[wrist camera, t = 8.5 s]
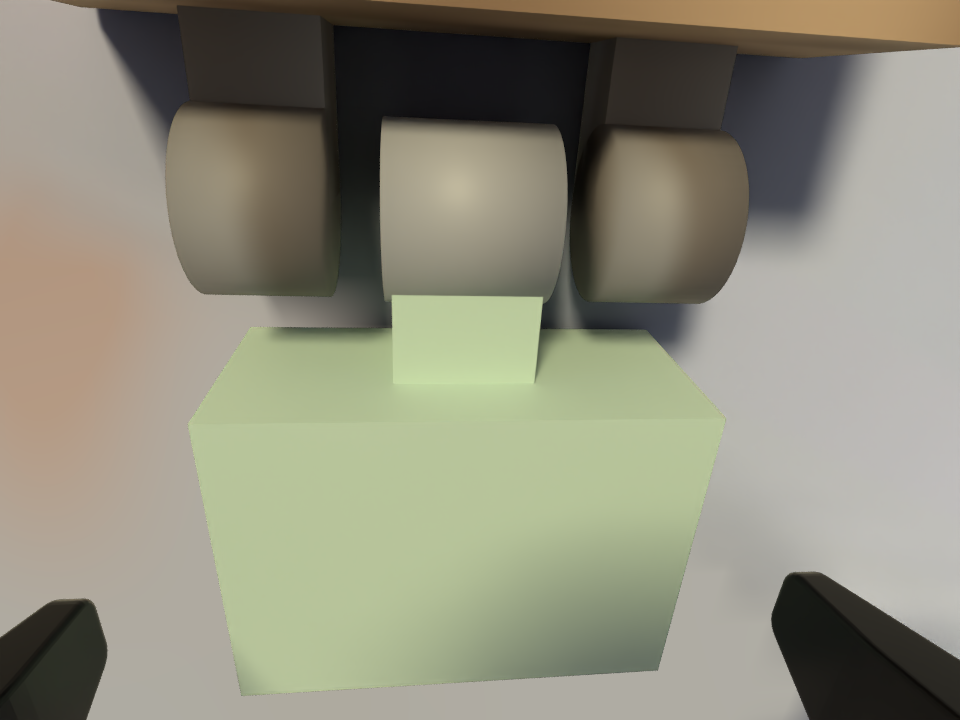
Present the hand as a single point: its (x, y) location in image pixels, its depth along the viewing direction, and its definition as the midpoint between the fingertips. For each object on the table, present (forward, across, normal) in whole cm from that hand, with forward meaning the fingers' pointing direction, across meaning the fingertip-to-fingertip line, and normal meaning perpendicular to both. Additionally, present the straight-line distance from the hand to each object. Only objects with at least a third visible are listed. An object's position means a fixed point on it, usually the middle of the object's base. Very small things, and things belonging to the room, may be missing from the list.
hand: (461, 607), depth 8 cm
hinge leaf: (+4, 0, -2) cm, 4 cm away
